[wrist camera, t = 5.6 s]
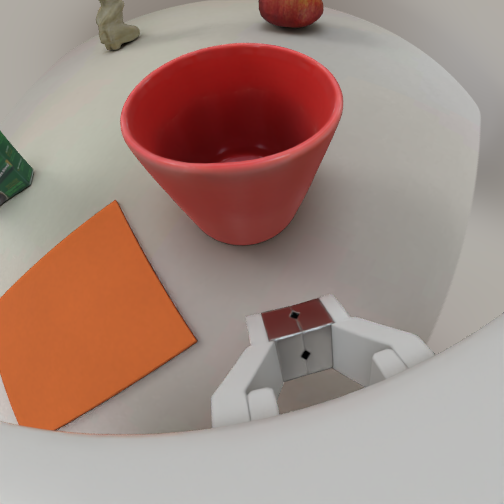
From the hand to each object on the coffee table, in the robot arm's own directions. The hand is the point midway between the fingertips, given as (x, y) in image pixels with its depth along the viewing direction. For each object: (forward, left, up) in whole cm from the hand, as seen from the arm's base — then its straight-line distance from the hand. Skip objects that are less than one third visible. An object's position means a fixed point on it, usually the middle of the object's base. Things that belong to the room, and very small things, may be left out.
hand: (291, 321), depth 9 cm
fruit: (+35, -31, -7) cm, 47 cm away
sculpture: (+55, -8, -7) cm, 56 cm away
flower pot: (+10, -4, -7) cm, 13 cm away
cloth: (+10, +13, -7) cm, 18 cm away
